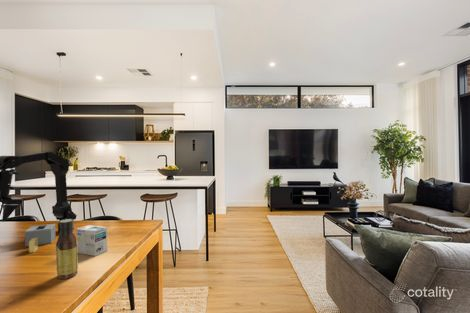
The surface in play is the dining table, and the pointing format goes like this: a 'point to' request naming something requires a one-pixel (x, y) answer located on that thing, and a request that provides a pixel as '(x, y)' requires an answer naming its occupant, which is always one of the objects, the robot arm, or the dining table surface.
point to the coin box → (40, 234)
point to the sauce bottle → (66, 250)
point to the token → (33, 245)
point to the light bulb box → (91, 240)
